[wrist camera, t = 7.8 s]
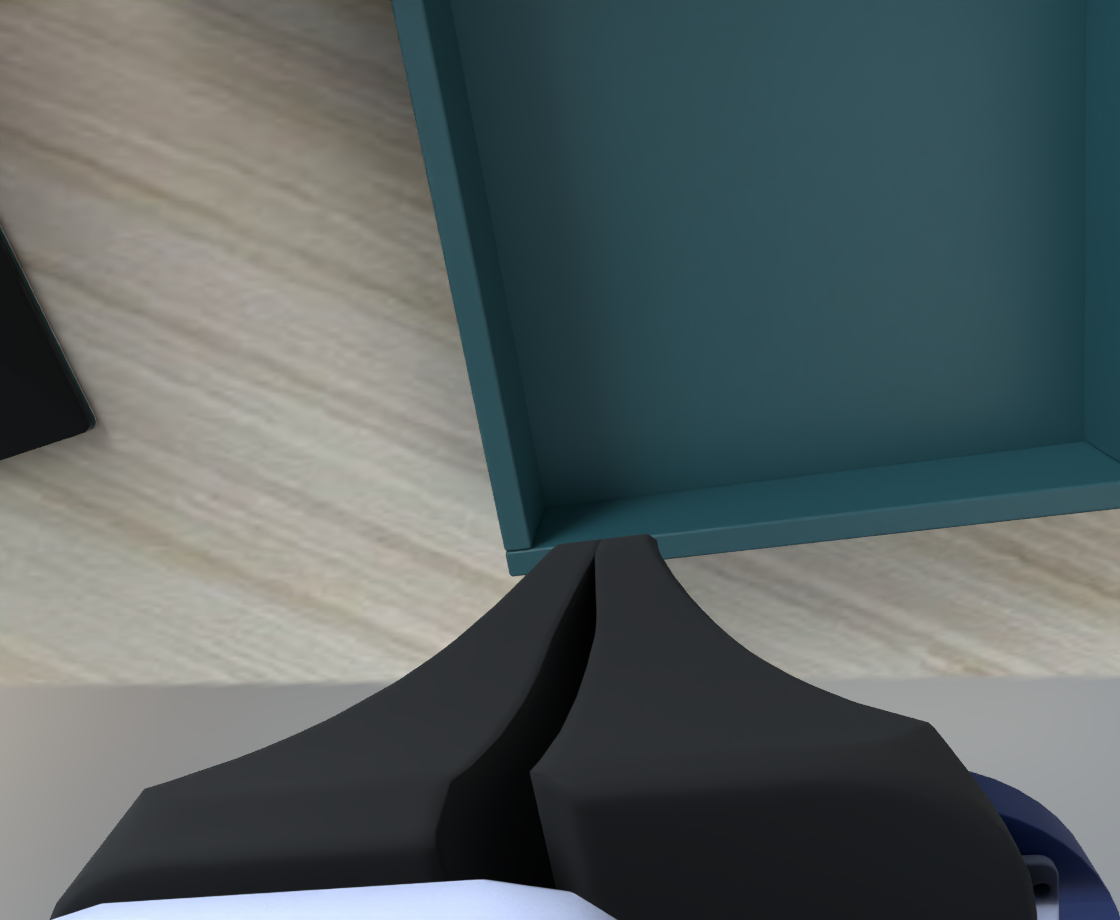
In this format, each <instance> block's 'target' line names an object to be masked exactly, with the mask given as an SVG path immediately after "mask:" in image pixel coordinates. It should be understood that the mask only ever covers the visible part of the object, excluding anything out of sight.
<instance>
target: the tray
mask: <svg viewBox="0 0 1120 920" xmlns="http://www.w3.org/2000/svg"><path fill="white" fill-rule="evenodd" d="M391 4H392V9H393V14H394V19H395V24H396V28H397V33H398V38H399V43H400V48H401V53H402V57H403V62H404V67H405V72H406V77H407V81H408V86H409V91H410V96H411V101H412V106H413V110H414V115H415V120H416V125H417V130H418V134H419V139H420V144H421V149H422V154H423V159H424V163H425V168H426V173H427V178H428V183H429V187H430V192H431V197H432V202H433V207H434V212H435V216H436V221H437V226H438V231H439V236H440V240H441V245H442V250H443V255H444V260H445V265H446V269H447V274H448V279H449V284H450V289H451V293H452V298H453V303H454V308H455V313H456V317H457V322H458V327H459V332H460V337H461V342H462V346H463V351H464V356H465V361H466V366H467V370H468V375H469V380H470V385H471V390H472V395H473V399H474V404H475V409H476V414H477V419H478V423H479V428H480V433H481V438H482V443H483V448H484V452H485V457H486V462H487V467H488V472H489V476H490V481H491V486H492V491H493V496H494V501H495V505H496V510H497V515H498V520H499V525H500V529H501V534H502V539H503V544H504V548H505V550H506V551H507V552H506V558H507V563H508V568H509V573H510V575H511V576H521V575H527V574H528V573H529V572H530V571H531V570H532V569H533V568H534V567H535V566H536V565H537V563H538V562H539V561H540V560H541V559H542V558H543V557H544V556H545V555H546V554H547V553H548V552H549V551H551V550H552V549H553V548H554V547H555V546H557V545H558V544H565V543H573V542H582V541H590V540H598V539H607V538H615V537H624V536H632V535H640V534H649V535H650V536H652V537H653V538H654V539H656V540H657V542H658V548H659V551H660V553H661V555H662V557H663V559H672V558H681V557H690V556H699V555H708V554H717V553H726V552H735V551H744V550H753V549H762V548H771V547H780V546H788V545H797V544H806V543H815V542H824V541H833V540H842V539H851V538H860V537H869V536H878V535H887V534H896V533H905V532H913V531H922V530H931V529H940V528H949V527H958V526H967V525H976V524H985V523H994V522H1003V521H1012V520H1021V519H1030V518H1039V517H1047V516H1056V515H1065V514H1074V513H1083V512H1092V511H1101V510H1110V509H1119V508H1120V0H391Z"/></svg>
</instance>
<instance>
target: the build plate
mask: <svg viewBox="0 0 1120 920" xmlns="http://www.w3.org/2000/svg"><path fill="white" fill-rule="evenodd" d="M96 424H97V419H96V416H95V414H94V412H93V410H92V408H91V406H90V404H89V402H88V400H87V398H86V396H85V394H84V392H83V390H82V388H81V386H80V384H79V382H78V380H77V378H76V376H75V374H74V372H73V370H72V368H71V366H70V364H69V362H68V360H67V358H66V356H65V354H64V352H63V350H62V348H61V346H60V344H59V342H58V340H57V338H56V336H55V333H54V331H53V329H52V327H51V325H50V323H49V321H48V319H47V317H46V315H45V313H44V311H43V309H42V307H41V305H40V303H39V301H38V299H37V297H36V295H35V293H34V291H33V289H32V287H31V285H30V283H29V281H28V279H27V277H26V275H25V273H24V271H23V269H22V267H21V265H20V263H19V261H18V259H17V257H16V255H15V253H14V251H13V249H12V247H11V245H10V243H9V240H8V238H7V236H6V234H5V232H4V230H3V228H2V226H1V224H0V460H3V459H6V458H9V457H12V456H15V455H18V454H21V453H24V452H27V451H30V450H33V449H36V448H39V447H42V446H45V445H48V444H52V443H55V442H58V441H61V440H64V439H67V438H70V437H73V436H76V435H79V434H82V433H85V432H87V431H89V430H91V429H93V428H95V426H96Z"/></svg>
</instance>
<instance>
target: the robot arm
mask: <svg viewBox="0 0 1120 920" xmlns="http://www.w3.org/2000/svg"><path fill="white" fill-rule="evenodd" d="M1040 883H1044V884H1043V885H1042V886H1039V887H1034V886H1035V885H1036V884H1040ZM50 920H1059V874H1058V870H1057V868H1056V866H1055V865H1054V863H1053V862H1052V860H1051V859H1050V858H1048V857H1046V856H1044V855H1021V854H1020V852H1019V850H1018V847H1017V845H1016V844H1015V842H1014V840H1013V838H1012V836H1011V834H1010V833H1009V831H1008V829H1007V827H1006V825H1005V824H1004V822H1003V820H1002V819H1001V817H1000V816H999V814H998V813H997V811H996V810H995V808H994V806H993V805H992V803H991V802H990V800H989V799H988V797H987V796H986V795H985V793H984V792H983V791H982V789H981V788H980V786H979V785H978V784H977V782H976V781H975V780H974V778H973V777H972V775H971V774H970V773H969V771H968V770H967V769H966V767H965V766H964V765H963V764H962V762H961V761H960V760H959V758H958V757H957V756H956V755H955V753H954V752H953V751H952V749H951V748H950V747H949V746H948V744H947V743H946V742H945V740H944V739H943V738H942V737H941V736H940V734H939V733H938V732H937V731H936V729H935V728H934V727H933V726H932V725H931V724H929V723H928V722H924V721H921V720H917V719H914V718H910V717H906V716H903V715H899V714H896V713H892V712H888V711H885V710H881V709H877V708H873V707H870V706H866V705H863V704H859V703H856V702H853V701H850V700H848V699H845V698H842V697H840V696H838V695H835V694H832V693H830V692H827V691H825V690H822V689H820V688H817V687H815V686H813V685H810V684H808V683H806V682H804V681H802V680H800V679H798V678H795V677H793V676H791V675H789V674H787V673H786V672H784V671H782V670H780V669H779V668H777V667H775V666H773V665H772V664H770V663H768V662H766V661H764V660H763V659H761V658H759V657H758V656H756V655H755V654H753V653H751V652H750V651H748V650H747V649H746V648H745V647H743V646H742V645H741V644H739V643H738V642H737V641H735V640H734V639H733V638H732V637H731V636H729V635H728V634H727V633H726V632H725V631H724V630H723V629H721V628H720V627H719V626H718V625H717V624H716V623H715V622H714V621H713V620H712V619H711V618H710V617H709V616H708V615H707V614H706V613H705V612H704V611H703V610H702V609H701V608H700V607H699V606H698V605H697V604H696V602H695V601H694V600H693V599H692V598H691V597H690V596H689V594H688V593H687V592H686V590H685V589H684V588H683V587H682V585H681V584H680V583H679V582H678V580H677V579H676V578H675V576H674V575H673V574H672V572H671V571H670V569H669V567H668V566H667V564H666V563H665V561H664V559H663V557H662V555H661V553H660V551H659V548H658V542H657V540H656V539H654V538H653V537H652V536H650V535H649V534H640V535H632V536H624V537H615V538H607V539H598V540H590V541H582V542H573V543H565V544H558V545H557V546H555V547H554V548H553V549H552V550H551V551H549V552H548V553H547V554H546V555H545V556H544V557H543V558H542V559H541V560H540V561H539V562H538V563H537V565H536V566H535V567H534V568H533V569H532V570H531V571H530V572H529V573H528V574H527V575H526V576H525V577H524V578H523V579H522V580H521V581H520V582H519V583H518V584H517V585H516V586H515V587H514V588H513V589H512V590H511V591H510V592H509V593H507V594H506V595H505V596H504V597H503V598H502V599H501V600H500V601H499V602H498V603H497V604H496V605H495V606H494V607H493V608H492V609H490V610H489V611H488V612H487V613H486V614H485V615H484V616H482V617H481V618H480V619H479V620H478V621H477V622H475V623H474V624H473V625H472V626H471V627H470V628H469V629H467V630H466V631H465V632H464V633H463V634H462V635H460V636H459V637H458V638H457V639H456V640H455V641H453V642H452V643H451V644H449V645H448V646H447V647H446V648H444V649H443V650H442V651H440V652H439V653H438V654H436V655H435V656H434V657H432V658H431V659H429V660H428V661H426V662H425V663H423V664H422V665H420V666H419V667H418V668H416V669H415V670H413V671H412V672H410V673H409V674H407V675H406V676H404V677H403V678H401V679H400V680H398V681H396V682H395V683H393V684H392V685H390V686H388V687H386V688H384V689H383V690H381V691H379V692H377V693H375V694H374V695H372V696H370V697H368V698H366V699H365V700H363V701H361V702H359V703H358V704H356V705H354V706H352V707H350V708H348V709H347V710H345V711H343V712H341V713H340V714H338V715H336V716H334V717H332V718H330V719H328V720H326V721H324V722H321V723H319V724H317V725H315V726H313V727H311V728H308V729H307V730H304V731H302V732H300V733H298V734H296V735H293V736H291V737H288V738H286V739H284V740H281V741H279V742H277V743H274V744H272V745H269V746H267V747H265V748H262V749H260V750H257V751H255V752H252V753H250V754H247V755H244V756H242V757H239V758H237V759H234V760H231V761H228V762H225V763H222V764H219V765H216V766H213V767H210V768H207V769H204V770H201V771H198V772H195V773H193V774H189V775H187V776H184V777H181V778H178V779H175V780H172V781H169V782H166V783H163V784H159V785H156V786H153V787H149V788H146V789H144V790H143V791H142V793H141V794H140V796H139V797H138V798H137V799H136V801H135V802H134V803H133V805H132V806H131V807H130V808H129V810H128V811H127V812H126V814H125V815H124V817H123V818H122V819H121V820H120V821H119V823H118V824H117V826H116V827H115V828H114V829H113V831H112V832H111V833H110V834H109V836H108V837H107V838H106V840H105V841H104V842H103V844H102V845H101V846H100V848H99V849H98V850H97V851H96V853H95V854H94V855H93V857H92V858H91V859H90V861H89V862H88V863H87V864H86V866H85V867H84V868H83V870H82V871H81V872H80V873H79V875H78V876H77V878H76V879H75V880H74V881H73V883H72V884H71V885H70V887H69V888H68V889H67V890H66V892H65V893H64V894H63V896H62V897H61V898H60V899H59V901H58V902H57V904H56V906H55V908H54V911H53V913H52V915H51V918H50Z"/></svg>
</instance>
